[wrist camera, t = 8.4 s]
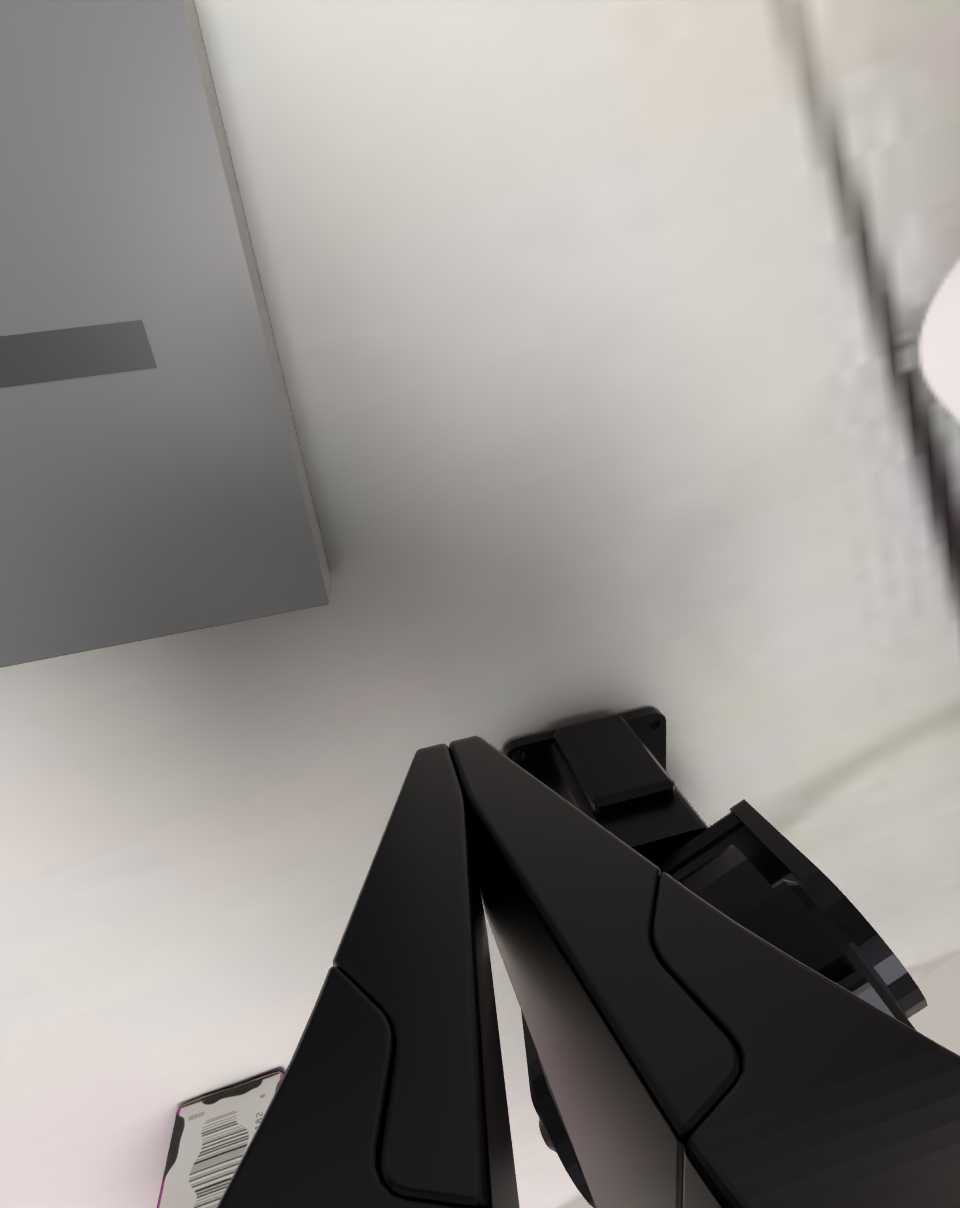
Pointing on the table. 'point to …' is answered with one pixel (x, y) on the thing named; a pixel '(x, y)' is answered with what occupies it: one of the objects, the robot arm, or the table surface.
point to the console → (134, 347)
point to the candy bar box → (213, 1142)
